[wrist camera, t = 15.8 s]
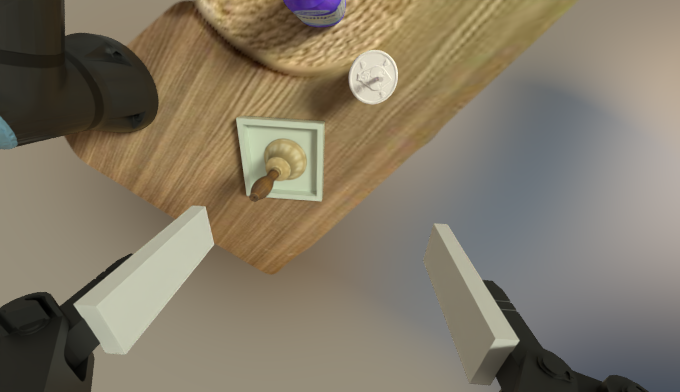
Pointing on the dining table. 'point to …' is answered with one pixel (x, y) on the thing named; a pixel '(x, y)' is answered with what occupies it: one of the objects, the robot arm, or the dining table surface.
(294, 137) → the tray
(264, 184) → the hand bell
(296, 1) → the bottle
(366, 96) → the smoothie
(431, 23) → the dining table surface
